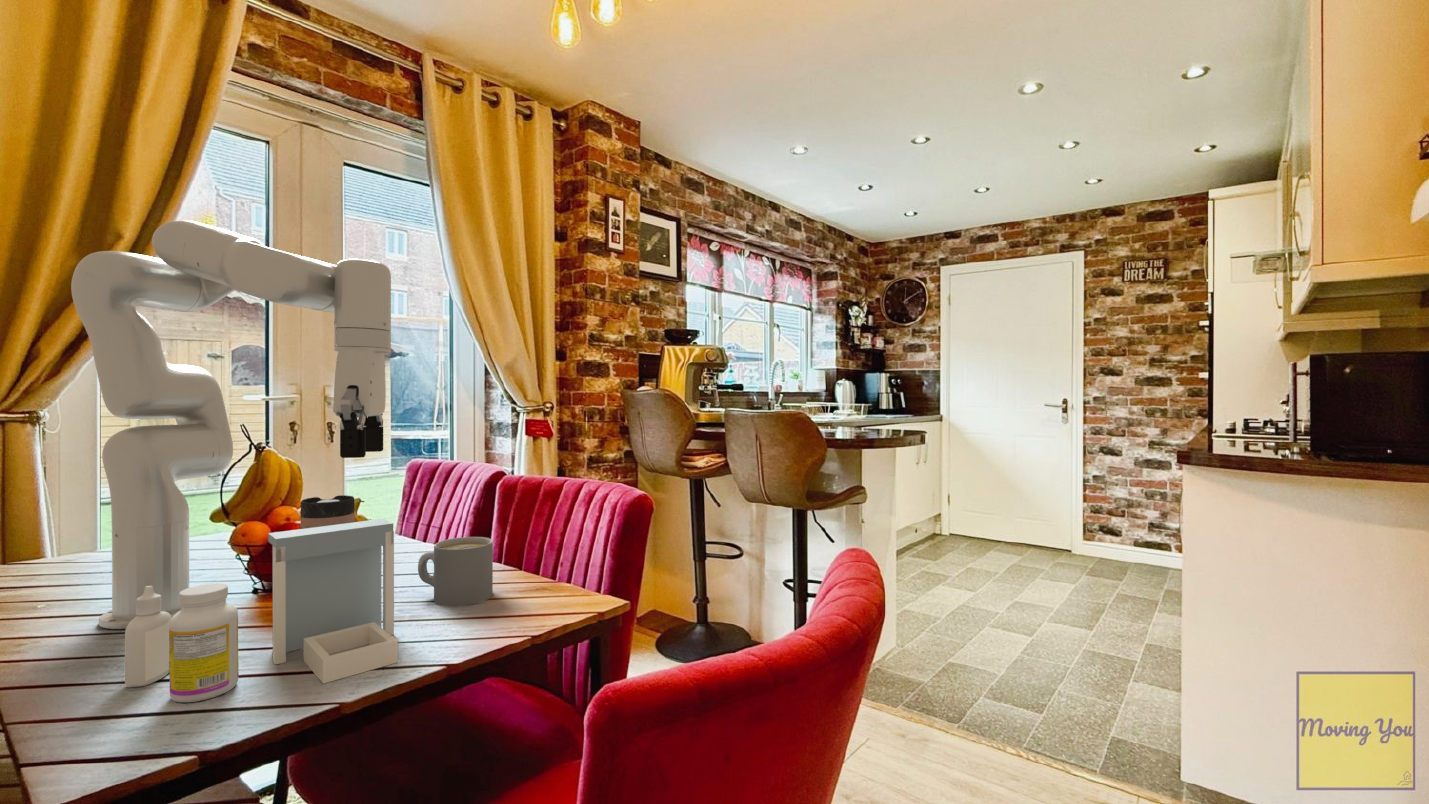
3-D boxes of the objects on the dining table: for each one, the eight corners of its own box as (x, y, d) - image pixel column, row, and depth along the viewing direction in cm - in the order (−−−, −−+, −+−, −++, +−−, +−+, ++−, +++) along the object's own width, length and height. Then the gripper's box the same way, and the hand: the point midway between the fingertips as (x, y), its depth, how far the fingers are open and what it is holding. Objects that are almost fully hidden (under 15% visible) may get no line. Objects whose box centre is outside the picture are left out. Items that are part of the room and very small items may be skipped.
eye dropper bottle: (184, 671, 83) (184, 581, 82) (134, 690, 77) (133, 594, 77) (162, 667, 84) (162, 578, 84) (111, 685, 79) (111, 591, 78)
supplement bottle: (196, 680, 80) (196, 581, 80) (250, 678, 81) (250, 580, 81) (154, 706, 73) (153, 597, 73) (213, 704, 74) (213, 596, 74)
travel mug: (329, 631, 97) (329, 503, 96) (287, 628, 98) (287, 501, 98) (366, 614, 104) (366, 496, 104) (327, 611, 106) (327, 494, 105)
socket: (303, 660, 86) (303, 638, 86) (374, 642, 93) (374, 622, 93) (322, 683, 79) (322, 660, 79) (397, 662, 86) (397, 640, 86)
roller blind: (267, 653, 88) (267, 533, 88) (383, 625, 99) (383, 518, 99) (275, 664, 85) (274, 539, 85) (394, 634, 96) (393, 523, 96)
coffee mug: (503, 591, 117) (503, 538, 117) (468, 609, 107) (468, 551, 107) (444, 585, 121) (444, 534, 121) (405, 601, 111) (405, 545, 111)
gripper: (353, 346, 102) (353, 449, 102) (314, 336, 86) (314, 460, 86) (403, 347, 104) (402, 449, 104) (374, 338, 87) (374, 459, 88)
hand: (362, 454), depth 95 cm, fingers open, 9 cm apart
